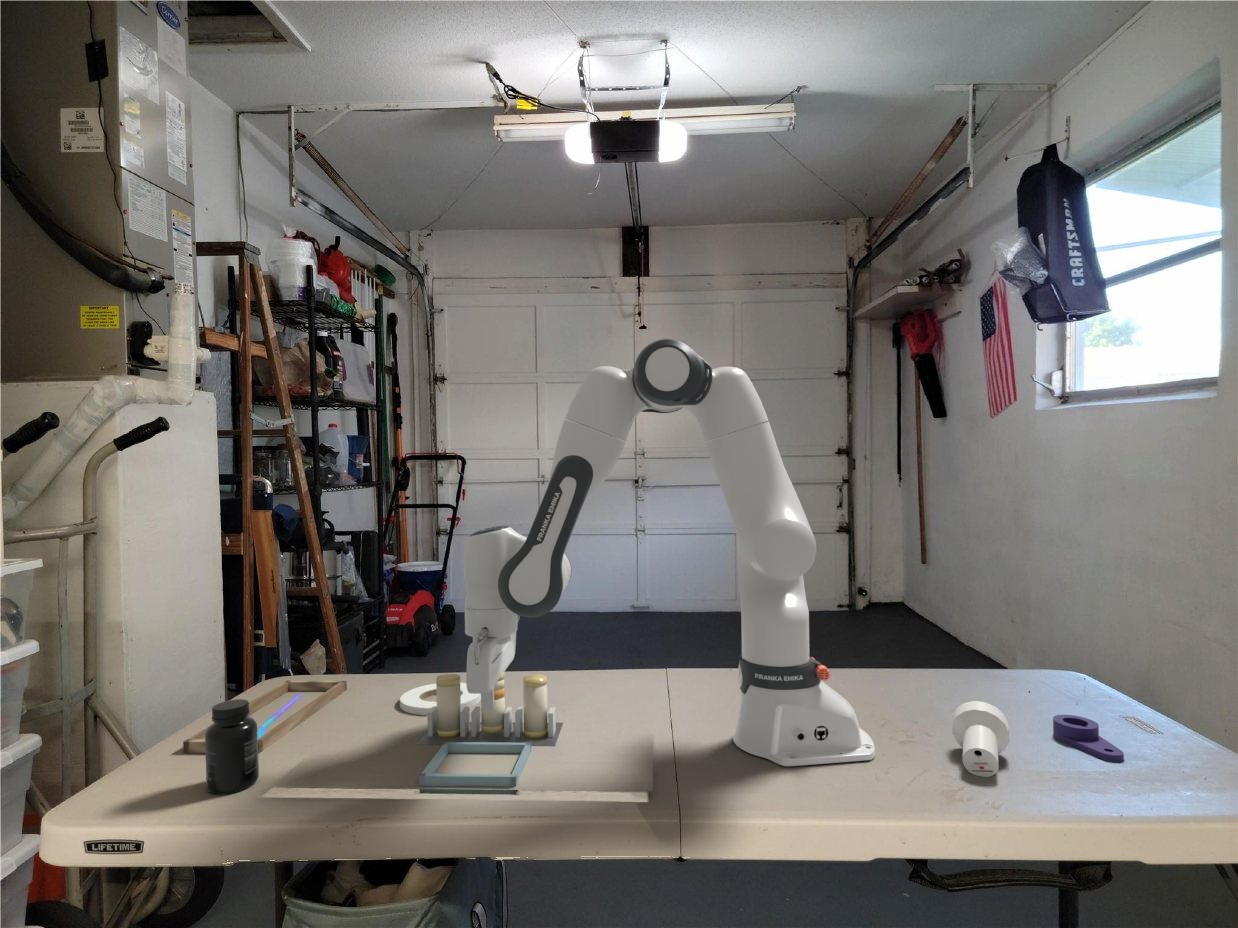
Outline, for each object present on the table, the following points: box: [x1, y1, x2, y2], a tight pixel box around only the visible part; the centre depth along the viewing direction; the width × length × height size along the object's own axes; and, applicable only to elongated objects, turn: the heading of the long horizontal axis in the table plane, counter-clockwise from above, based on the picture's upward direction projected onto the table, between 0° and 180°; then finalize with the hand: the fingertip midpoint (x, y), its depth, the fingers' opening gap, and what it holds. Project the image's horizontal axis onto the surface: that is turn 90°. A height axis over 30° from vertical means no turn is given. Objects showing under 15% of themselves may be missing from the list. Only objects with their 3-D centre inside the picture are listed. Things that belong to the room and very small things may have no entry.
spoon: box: [257, 693, 303, 739], centre depth 129 cm, size 25×4×1 cm, turn 3°
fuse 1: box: [435, 673, 462, 738], centre depth 118 cm, size 4×4×10 cm
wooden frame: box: [182, 680, 348, 754], centre depth 130 cm, size 13×32×2 cm, turn 177°
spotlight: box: [951, 700, 1010, 778], centre depth 106 cm, size 8×11×8 cm
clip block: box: [415, 706, 564, 747], centre depth 117 cm, size 23×10×5 cm, turn 87°
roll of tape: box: [399, 682, 481, 717], centre depth 134 cm, size 16×15×3 cm
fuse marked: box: [480, 672, 506, 733], centre depth 117 cm, size 4×4×10 cm
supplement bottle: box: [204, 698, 260, 795], centre depth 102 cm, size 7×7×12 cm
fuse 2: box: [522, 673, 548, 738], centre depth 117 cm, size 4×4×10 cm
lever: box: [1052, 714, 1125, 763], centre depth 111 cm, size 12×6×3 cm, turn 5°
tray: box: [418, 742, 532, 796], centre depth 104 cm, size 14×12×2 cm
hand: (493, 702), depth 117 cm, fingers closed on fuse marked, 4 cm apart
